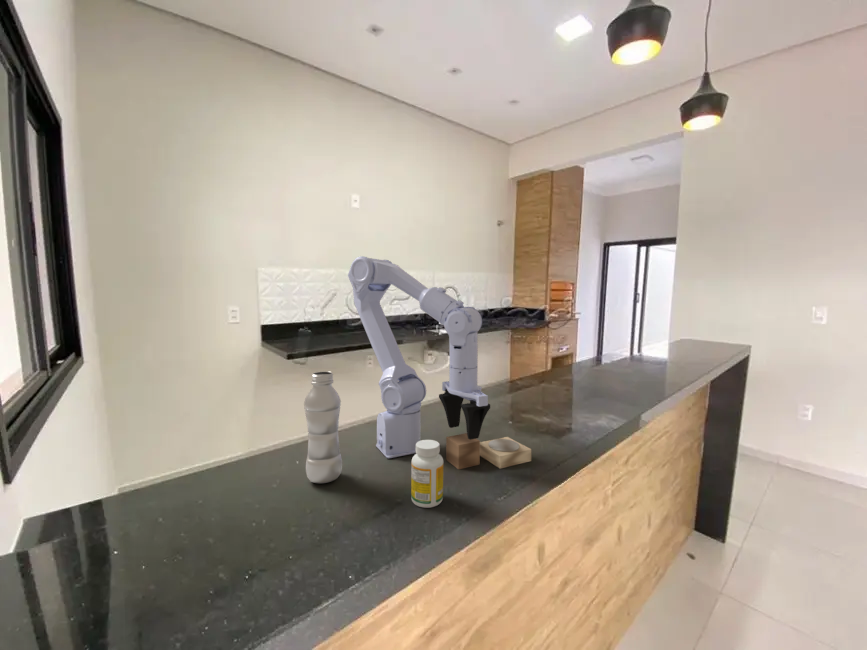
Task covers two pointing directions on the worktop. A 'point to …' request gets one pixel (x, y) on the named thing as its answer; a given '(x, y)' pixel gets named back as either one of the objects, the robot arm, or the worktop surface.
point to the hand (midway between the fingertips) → (463, 432)
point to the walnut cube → (462, 451)
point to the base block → (504, 452)
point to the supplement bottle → (427, 474)
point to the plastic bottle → (323, 429)
